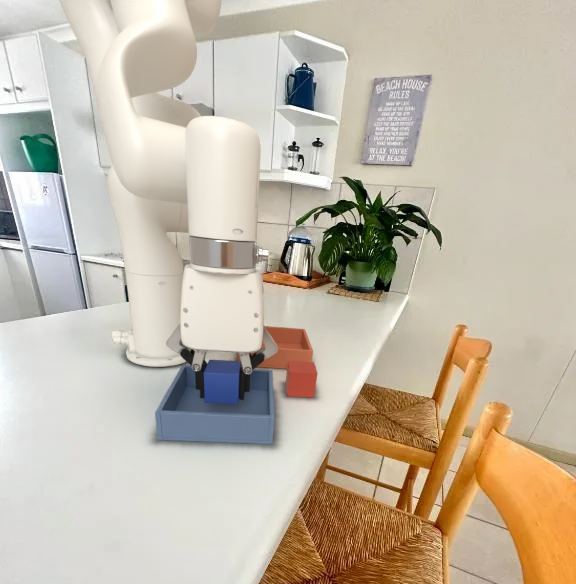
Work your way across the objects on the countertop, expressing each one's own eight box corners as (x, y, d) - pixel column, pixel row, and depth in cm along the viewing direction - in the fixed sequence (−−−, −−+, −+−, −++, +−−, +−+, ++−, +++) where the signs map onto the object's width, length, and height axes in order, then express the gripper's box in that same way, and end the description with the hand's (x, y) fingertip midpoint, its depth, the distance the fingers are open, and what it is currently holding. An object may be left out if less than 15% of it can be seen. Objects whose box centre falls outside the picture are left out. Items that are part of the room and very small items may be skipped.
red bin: (237, 365, 62) (238, 346, 60) (242, 341, 74) (242, 324, 73) (310, 370, 63) (313, 351, 61) (303, 345, 76) (305, 328, 74)
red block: (287, 396, 53) (289, 371, 51) (285, 384, 57) (287, 360, 55) (314, 397, 53) (317, 373, 51) (310, 385, 57) (313, 362, 55)
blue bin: (157, 440, 40) (154, 412, 38) (183, 387, 52) (182, 364, 50) (272, 444, 41) (274, 417, 39) (270, 391, 54) (272, 369, 52)
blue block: (204, 403, 43) (203, 372, 41) (209, 387, 47) (209, 359, 45) (238, 404, 43) (239, 374, 41) (240, 389, 47) (241, 361, 45)
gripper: (293, 259, 41) (281, 385, 49) (157, 247, 40) (168, 379, 48) (298, 266, 35) (284, 411, 43) (135, 252, 33) (153, 405, 41)
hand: (223, 393), depth 45 cm, fingers closed on blue block, 4 cm apart
